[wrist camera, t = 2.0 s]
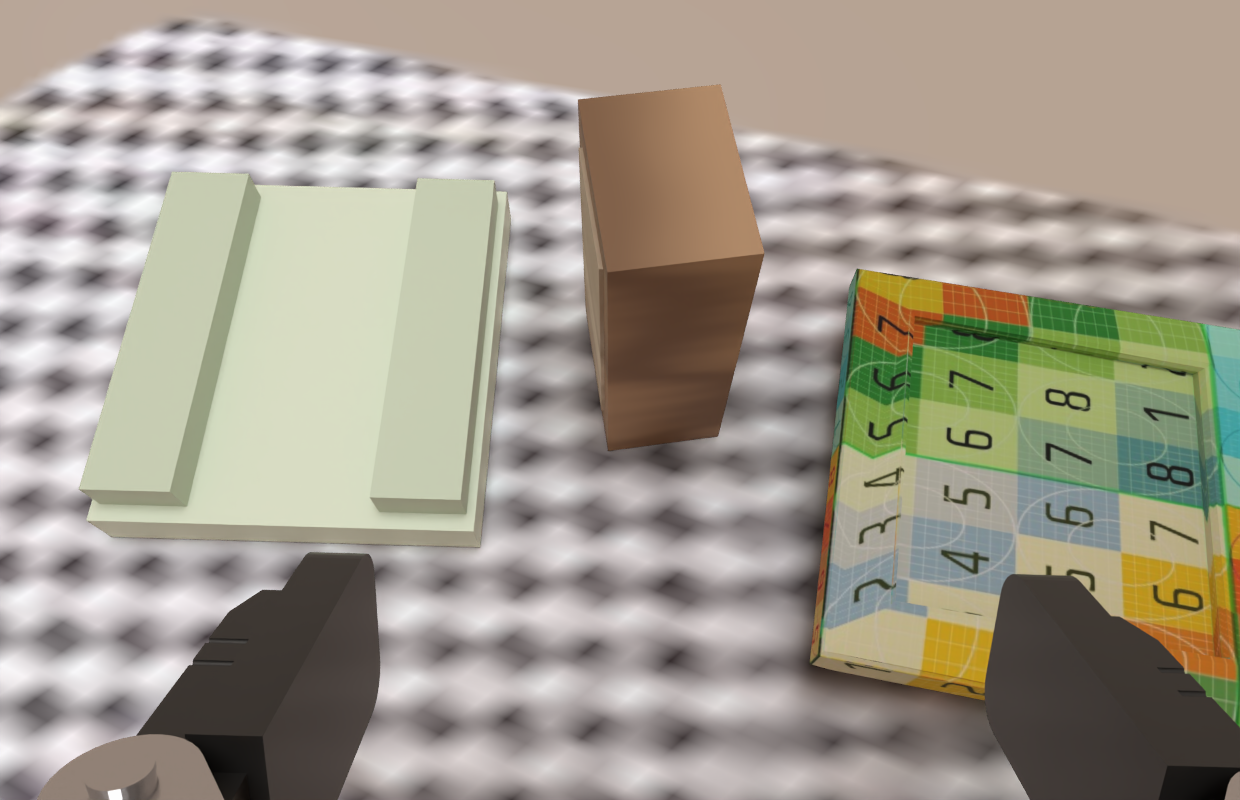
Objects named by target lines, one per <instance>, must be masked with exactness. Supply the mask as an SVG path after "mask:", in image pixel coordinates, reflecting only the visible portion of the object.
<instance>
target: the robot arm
mask: <svg viewBox="0 0 1240 800" xmlns="http://www.w3.org/2000/svg"><path fill="white" fill-rule="evenodd" d="M379 678H380V651H379V636H378V620H377V604H376V589H375V574H374V566H373V562H372V559H371V556H370V555H369V554H356V553H322V552H310V553H308V554H307V555H306V556H305V557H304V558H303V560H302V561H301V563H300V564H299V566H298V567H297V569H296V570H295V572H294V573H293V575H292V576H291V578H290V579H289V581H288V582H287V584H286V585H285V586H284V588H283V589H282V590H262V591H260V592H258V593H257V594H255V595H254V596H252V597H251V598H249V599H248V600H246V601H245V602H243V603H242V604H240V605H239V606H237V607H236V608H234V609H232V610H231V611H229V612H228V614H227V615H226V616H225V618H224V619H223V620H222V622H221V623H220V624H219V626H218V627H217V628H216V630H215V631H214V632H213V634H212V635H211V636H210V638H209V643H205V644H204V646H203V647H202V648H201V650H200V651H199V652H198V654H197V655H196V656H195V658H194V659H193V665H189V666H188V667H187V669H186V670H185V671H184V673H183V674H182V675H181V677H180V678H179V679H178V681H177V682H176V683H175V685H174V686H173V687H172V689H171V690H170V691H169V693H168V694H167V695H166V697H165V698H164V699H163V701H162V702H161V703H160V705H159V706H158V707H157V709H156V710H155V711H154V713H153V714H152V715H151V717H150V718H149V719H148V721H147V722H146V723H145V725H144V726H143V727H142V729H141V730H140V731H139V733H138V734H137V735H136V736H133V737H128V738H123V739H119V740H116V741H112V742H109V743H106V744H104V745H101V746H99V747H96V748H94V749H92V750H90V751H88V752H86V753H84V754H82V755H80V756H79V757H77V758H75V759H74V760H72V761H71V762H69V763H68V764H66V765H65V766H64V767H63V768H61V769H60V770H59V771H58V772H57V773H56V774H55V775H54V776H53V777H52V778H51V779H50V780H49V781H48V782H47V783H46V785H45V786H44V787H43V789H42V791H41V793H40V795H39V796H38V799H37V800H338V797H339V795H340V792H341V790H342V787H343V785H344V782H345V780H346V777H347V775H348V772H349V770H350V767H351V765H352V763H353V760H354V758H355V755H356V753H357V750H358V748H359V745H360V743H361V740H362V738H363V735H364V733H365V730H366V728H367V725H368V723H369V720H370V718H371V716H372V713H373V710H374V707H375V703H376V699H377V694H378V687H379ZM985 705H986V712H987V717H988V720H989V724H990V726H991V729H992V731H993V733H994V735H995V737H996V739H997V741H998V742H999V744H1000V746H1001V748H1002V750H1003V751H1004V753H1005V755H1006V757H1007V759H1008V760H1009V762H1010V764H1011V766H1012V768H1013V770H1014V771H1015V773H1016V775H1017V777H1018V779H1019V780H1020V782H1021V784H1022V786H1023V788H1024V789H1025V791H1026V793H1027V795H1028V797H1029V798H1030V800H1240V727H1239V726H1238V725H1237V724H1236V723H1235V722H1234V721H1233V720H1232V719H1231V717H1230V716H1229V715H1228V714H1227V713H1226V712H1225V711H1224V710H1223V709H1222V708H1221V707H1220V706H1219V705H1218V704H1217V702H1216V701H1215V700H1214V699H1213V698H1212V697H1207V696H1206V691H1205V690H1204V689H1203V688H1202V686H1201V685H1200V684H1199V683H1198V682H1197V681H1196V680H1195V679H1194V678H1193V677H1192V676H1191V675H1190V674H1185V672H1184V667H1183V666H1182V665H1181V664H1180V663H1179V662H1178V661H1177V660H1176V659H1175V658H1174V656H1173V655H1172V654H1171V653H1170V652H1169V651H1168V650H1167V649H1166V648H1165V647H1164V646H1163V645H1162V644H1161V643H1160V642H1159V640H1157V639H1155V638H1154V637H1152V636H1150V635H1149V634H1147V633H1146V632H1144V631H1142V630H1141V629H1139V628H1138V627H1136V626H1134V625H1133V624H1131V623H1129V622H1128V621H1126V620H1125V619H1123V618H1121V617H1120V616H1110V614H1109V613H1108V612H1107V611H1106V610H1105V609H1104V608H1103V607H1102V605H1101V604H1100V603H1099V602H1098V601H1097V600H1096V599H1095V598H1094V596H1093V595H1092V594H1091V593H1090V592H1089V591H1088V590H1087V589H1086V587H1085V586H1084V585H1083V584H1082V583H1081V582H1080V581H1079V580H1078V579H1077V578H1076V577H1074V576H1066V575H1032V574H1011V575H1010V576H1008V577H1007V578H1006V580H1005V582H1004V584H1003V586H1002V589H1001V594H1000V599H999V605H998V610H997V616H996V622H995V627H994V633H993V638H992V644H991V650H990V655H989V661H988V666H987V672H986V678H985Z"/></svg>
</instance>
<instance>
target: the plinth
mask: <svg viewBox="0 0 1240 800" xmlns="http://www.w3.org/2000/svg"><path fill="white" fill-rule="evenodd" d="M510 224H511V215H510V209H509V202H508V196H507V192H496V187H495V181H494V180H458V179H420V178H418V179H417V186H416V189H384V188H346V187H309V186H272V185H254V183H253V181H252V179H251V177H250V175H249V174H234V173H197V172H172V174H171V177H170V181H169V184H168V188H167V191H166V194H165V198H164V201H163V205H162V208H161V211H160V215H159V218H158V222H157V225H156V228H155V232H154V235H153V239H152V242H151V245H150V249H149V252H148V256H147V259H146V262H145V266H144V269H143V273H142V276H141V279H140V283H139V286H138V290H137V293H136V296H135V300H134V303H133V307H132V310H131V313H130V317H129V320H128V324H127V327H126V330H125V334H124V337H123V341H122V344H121V347H120V351H119V354H118V358H117V361H116V364H115V368H114V371H113V375H112V378H111V381H110V385H109V388H108V392H107V395H106V398H105V402H104V405H103V409H102V412H101V415H100V419H99V422H98V426H97V429H96V432H95V436H94V439H93V443H92V446H91V449H90V453H89V456H88V459H87V463H86V466H85V470H84V473H83V476H82V480H81V483H80V487H79V490H80V491H82V492H83V493H85V494H86V495H88V496H89V497H90V498H92V503H91V506H90V510H89V513H88V517H87V520H86V521H88V522H89V523H91V524H92V525H94V526H96V527H97V528H99V529H100V530H102V531H103V532H105V533H106V534H108V535H109V536H111V537H134V538H170V539H206V540H241V541H277V542H312V543H348V544H384V545H419V546H455V547H480V543H481V533H482V522H483V512H484V501H485V490H486V480H487V469H488V458H489V448H490V437H491V426H492V416H493V405H494V395H495V384H496V373H497V363H498V352H499V341H500V331H501V320H502V309H503V299H504V288H505V278H506V267H507V256H508V246H509V235H510Z"/></svg>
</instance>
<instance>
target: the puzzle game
mask: <svg viewBox="0 0 1240 800" xmlns="http://www.w3.org/2000/svg"><path fill="white" fill-rule="evenodd" d="M1011 574H1032V575H1066V576H1074V577H1076V578H1077V579H1078V580H1079V581H1080V582H1081V583H1082V584H1083V585H1084V586H1085V587H1086V589H1087V590H1088V591H1089V592H1090V593H1091V594H1092V595H1093V596H1094V598H1095V599H1096V600H1097V601H1098V602H1099V603H1100V604H1101V605H1102V607H1103V608H1104V609H1105V610H1106V611H1107V612H1108V613H1109V614H1110V616H1120V617H1121V618H1123V619H1125V620H1126V621H1128V622H1129V623H1131V624H1133V625H1134V626H1136V627H1138V628H1139V629H1141V630H1142V631H1144V632H1146V633H1147V634H1149V635H1150V636H1152V637H1154V638H1155V639H1157V640H1159V642H1160V643H1161V644H1162V645H1163V646H1164V647H1165V648H1166V649H1167V650H1168V651H1169V652H1170V653H1171V654H1172V655H1173V656H1174V658H1175V659H1176V660H1177V661H1178V662H1179V663H1180V664H1181V665H1182V666H1183V667H1184V672H1185V674H1190V675H1191V676H1192V677H1193V678H1194V679H1195V680H1196V681H1197V682H1198V683H1199V684H1200V685H1201V686H1202V688H1203V689H1204V690H1205V691H1206V696H1207V697H1212V698H1213V699H1214V700H1215V701H1216V702H1217V704H1218V705H1219V706H1220V707H1221V708H1222V709H1223V710H1224V711H1225V712H1226V713H1227V714H1228V715H1229V716H1230V717H1231V719H1232V720H1233V721H1234V722H1235V723H1236V724H1237V725H1238V726H1239V727H1240V330H1238V329H1232V328H1226V327H1219V326H1213V325H1207V324H1201V323H1194V322H1188V321H1182V320H1176V319H1169V318H1163V317H1157V316H1150V315H1144V314H1138V313H1132V312H1125V311H1119V310H1113V309H1106V308H1100V307H1094V306H1088V305H1081V304H1075V303H1069V302H1062V301H1056V300H1050V299H1044V298H1037V297H1031V296H1025V295H1019V294H1012V293H1006V292H1000V291H993V290H987V289H981V288H975V287H968V286H962V285H956V284H949V283H943V282H937V281H931V280H924V279H918V278H912V277H906V276H899V275H893V274H887V273H880V272H874V271H868V270H862V269H857V270H856V272H855V275H854V277H853V280H852V282H851V284H850V287H849V295H848V304H847V314H846V323H845V333H844V342H843V352H842V361H841V371H840V380H839V390H838V399H837V409H836V418H835V428H834V437H833V447H832V456H831V466H830V475H829V485H828V494H827V504H826V513H825V523H824V532H823V542H822V551H821V560H820V570H819V579H818V589H817V598H816V608H815V617H814V627H813V636H812V646H811V655H810V664H812V665H815V666H819V667H822V668H826V669H830V670H834V671H839V672H844V673H849V674H854V675H859V676H864V677H869V678H874V679H879V680H885V681H890V682H895V683H900V684H905V685H910V686H915V687H920V688H925V689H930V690H935V691H940V692H945V693H950V694H955V695H960V696H965V697H970V698H975V699H980V700H985V678H986V672H987V666H988V661H989V655H990V650H991V644H992V638H993V633H994V627H995V622H996V616H997V610H998V605H999V599H1000V594H1001V589H1002V586H1003V584H1004V582H1005V580H1006V578H1007V577H1008V576H1010V575H1011Z"/></svg>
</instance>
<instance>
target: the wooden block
mask: <svg viewBox="0 0 1240 800" xmlns="http://www.w3.org/2000/svg"><path fill="white" fill-rule="evenodd" d="M578 114H579V137H580V148H579V167H580V190H581V213H582V236H583V258H584V281H585V304H586V314H587V321H588V327H589V334H590V340H591V347H592V353H593V359H594V366H595V372H596V379H597V385H598V392H599V398H600V404H601V411H602V415H603V421H604V427H605V434H606V440H607V447H608V451H612V450H619V449H627V448H634V447H642V446H649V445H656V444H664V443H671V442H679V441H686V440H694V439H701V438H709V437H716V436H718V434H719V430H720V426H721V422H722V418H723V414H724V411H725V407H726V403H727V399H728V395H729V391H730V387H731V383H732V379H733V375H734V371H735V367H736V363H737V359H738V355H739V352H740V348H741V344H742V340H743V336H744V332H745V328H746V324H747V320H748V316H749V312H750V308H751V304H752V300H753V296H754V292H755V289H756V285H757V281H758V277H759V273H760V269H761V265H762V261H763V257H764V250H763V246H762V242H761V238H760V235H759V231H758V227H757V223H756V219H755V215H754V211H753V208H752V204H751V200H750V196H749V192H748V188H747V184H746V181H745V177H744V173H743V169H742V165H741V161H740V157H739V154H738V150H737V146H736V142H735V138H734V134H733V130H732V127H731V123H730V119H729V115H728V111H727V107H726V104H725V100H724V96H723V92H722V88H721V85H711V86H701V87H692V88H683V89H673V90H664V91H654V92H645V93H635V94H626V95H616V96H607V97H598V98H588V99H579V100H578Z"/></svg>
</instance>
